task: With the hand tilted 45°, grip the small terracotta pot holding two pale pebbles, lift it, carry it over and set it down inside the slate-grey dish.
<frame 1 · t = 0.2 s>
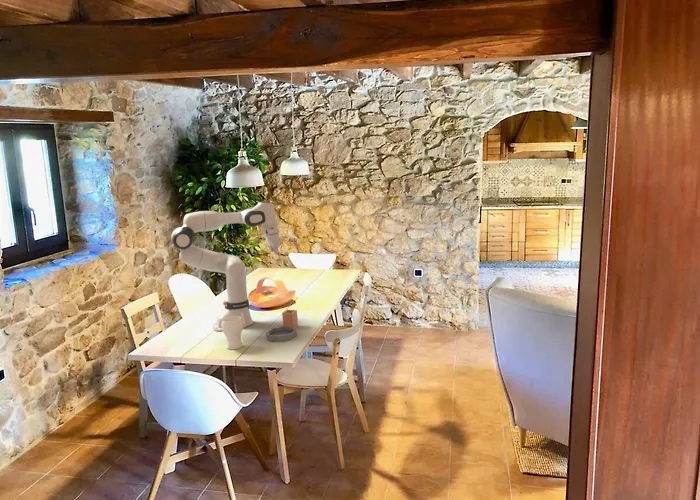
hand: (274, 252, 329), 39 cm above the table, tool pointing down, fingers open, 8 cm apart
dish: (281, 336, 305), on the table
pot: (290, 327, 319), on the table, touching pebble a
pebble a: (290, 322, 319), point 2 cm above the table, touching pebble b, pot
pebble b: (289, 317, 318), point 5 cm above the table, tilted 10°, touching pebble a
cup: (234, 347, 294), on the table
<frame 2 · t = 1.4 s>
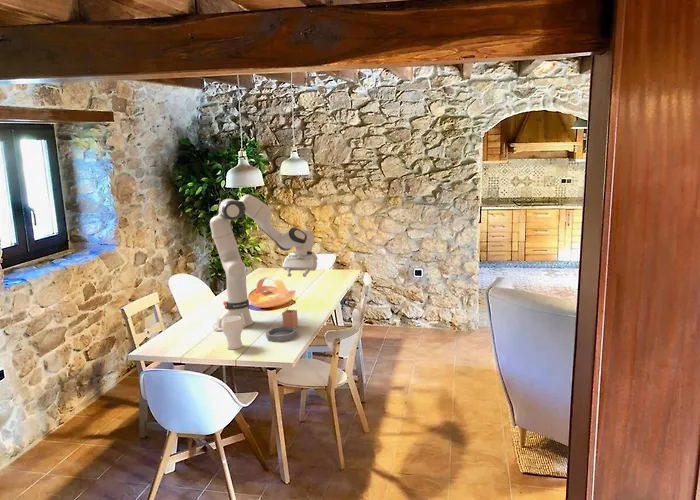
hand: (296, 276, 325), 26 cm above the table, tool tilted 45°, fingers open, 8 cm apart
pot: (290, 327, 319), on the table, touching pebble a, pebble b
pebble a: (292, 322, 319), point 2 cm above the table, tilted 36°, touching pebble b, pot
pebble b: (288, 319, 318), point 5 cm above the table, tilted 112°, touching pebble a, pot
everything else where it was.
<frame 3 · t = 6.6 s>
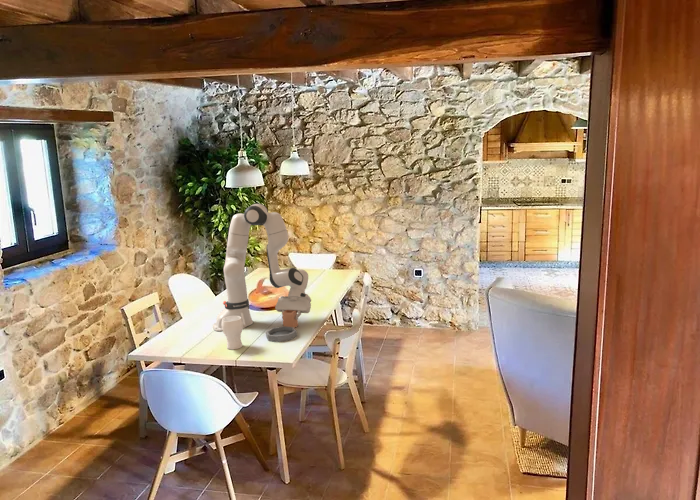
hand: (289, 318, 318), 5 cm above the table, tool tilted 45°, fingers closed on pot, 6 cm apart
pot: (290, 327, 319), on the table, touching gripper, pebble a, pebble b
everything else where it was.
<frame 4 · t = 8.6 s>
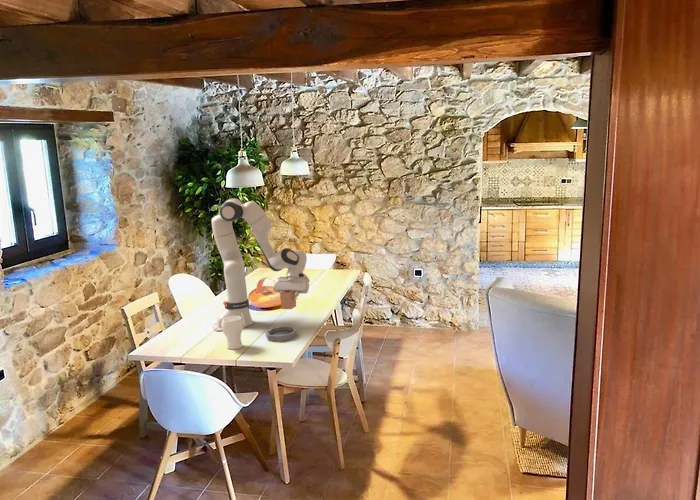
hand: (287, 299, 315), 16 cm above the table, tool tilted 45°, fingers closed on pot, 6 cm apart
pot: (288, 307, 317), point 11 cm above the table, touching gripper, pebble a, pebble b
pebble a: (290, 302, 317), point 14 cm above the table, tilted 38°, touching pebble b, pot
pebble b: (286, 299, 316), point 16 cm above the table, tilted 116°, touching pebble a, pot
everything else where it was.
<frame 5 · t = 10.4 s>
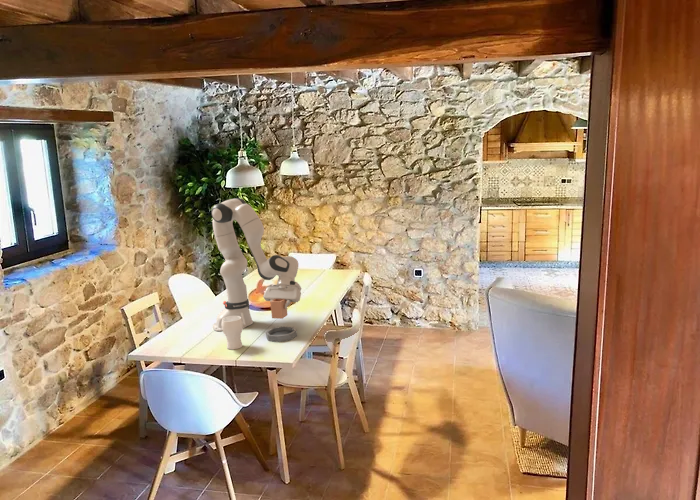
hand: (278, 308, 301), 16 cm above the table, tool tilted 45°, fingers closed on pot, 6 cm apart
pot: (279, 316, 303), point 11 cm above the table, touching gripper, pebble a, pebble b
pebble a: (281, 311, 302), point 13 cm above the table, tilted 37°, touching pebble b, pot
pebble b: (277, 308, 301), point 16 cm above the table, tilted 116°, touching pebble a, pot
everything else where it was.
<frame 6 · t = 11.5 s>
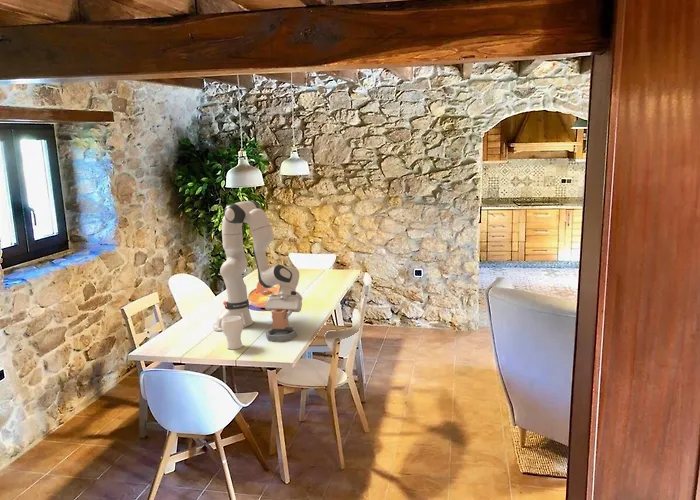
hand: (279, 318, 302), 10 cm above the table, tool tilted 45°, fingers closed on pot, 6 cm apart
pot: (281, 326, 304), point 5 cm above the table, touching gripper, pebble a, pebble b
pebble a: (282, 321, 303), point 8 cm above the table, tilted 37°, touching pebble b, pot
pebble b: (278, 318, 302), point 10 cm above the table, tilted 117°, touching pebble a, pot
everything else where it was.
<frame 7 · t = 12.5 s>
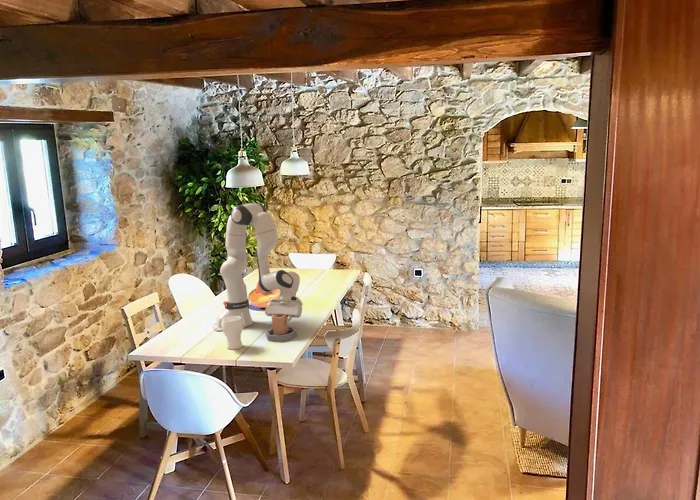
hand: (279, 323, 303), 7 cm above the table, tool tilted 45°, fingers closed on pot, 6 cm apart
pot: (281, 332, 304), point 2 cm above the table, touching gripper, pebble a, pebble b
pebble a: (282, 327, 304), point 5 cm above the table, tilted 37°, touching pebble b, pot
pebble b: (278, 323, 303), point 7 cm above the table, tilted 116°, touching pebble a, pot
everything else where it was.
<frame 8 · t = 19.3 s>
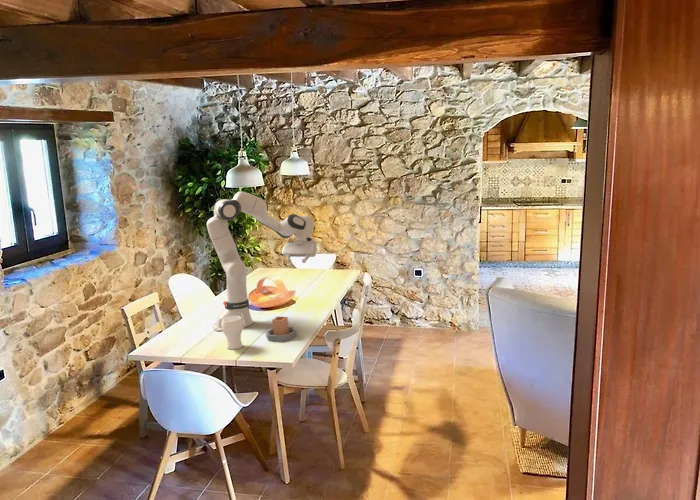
hand: (296, 262, 326), 33 cm above the table, tool tilted 45°, fingers open, 8 cm apart
pot: (281, 334, 304), point 1 cm above the table, touching dish, pebble a, pebble b
pebble a: (282, 329, 304), point 3 cm above the table, tilted 37°, touching pebble b, pot
pebble b: (278, 326, 303), point 6 cm above the table, tilted 116°, touching pebble a, pot
everything else where it was.
at the end: pot inside the target area on the dish (0.0 cm from its centre), point 1.0 cm above the dish's base; pot tilted 0°; the gripper is holding nothing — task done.
